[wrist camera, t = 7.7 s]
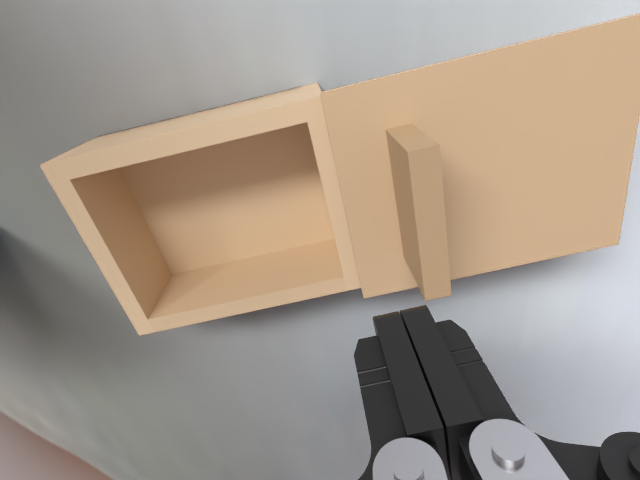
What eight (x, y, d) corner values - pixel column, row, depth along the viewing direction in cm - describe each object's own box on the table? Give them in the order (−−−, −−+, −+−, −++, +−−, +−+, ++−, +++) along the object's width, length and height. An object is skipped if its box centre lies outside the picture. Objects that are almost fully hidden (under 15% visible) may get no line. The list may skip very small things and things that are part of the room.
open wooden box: (97, 137, 24) (39, 165, 18) (317, 82, 23) (323, 95, 18) (168, 281, 29) (139, 335, 24) (350, 240, 28) (363, 287, 23)
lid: (319, 92, 17) (326, 107, 13) (646, 11, 16) (757, 2, 12) (362, 293, 23) (376, 348, 19) (612, 240, 22) (682, 285, 18)
